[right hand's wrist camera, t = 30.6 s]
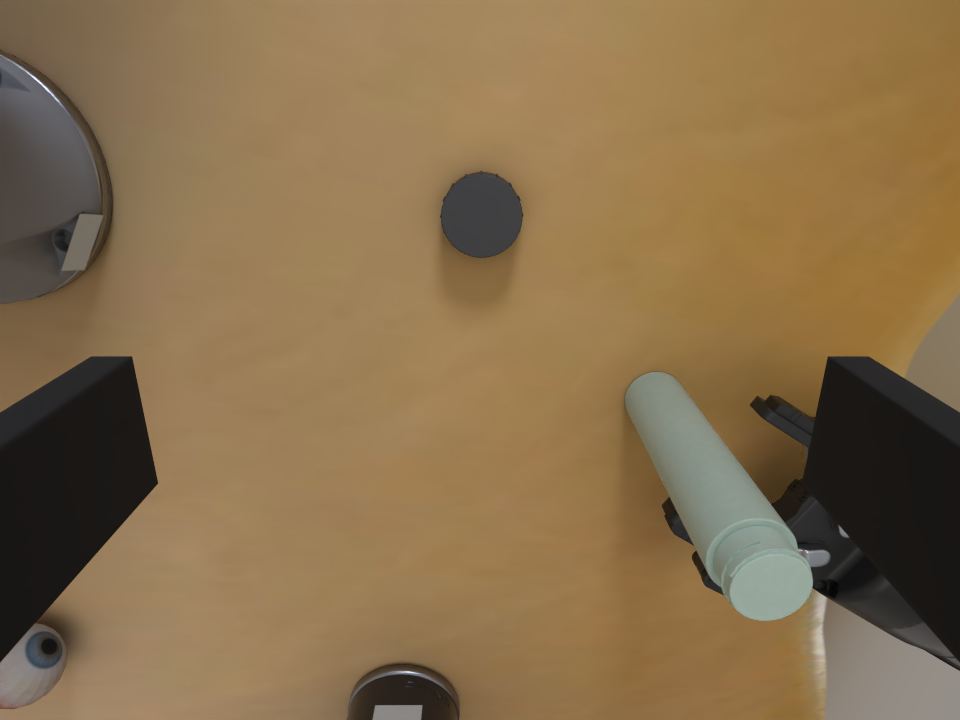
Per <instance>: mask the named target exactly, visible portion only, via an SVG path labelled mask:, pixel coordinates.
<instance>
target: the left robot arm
mask: <svg viewBox="0 0 960 720" xmlns="http://www.w3.org/2000/svg"><path fill="white" fill-rule="evenodd" d="M750 406H751V407H752V408H753V409H754V410H755V411H756V412H757V413H758V414H759V415H760V416H761V417H762V418H763V419H765V420H766V421H767V422H769V423H770V424H772V425H773V426H775V427H777V428H778V429H780V430H781V431H783V432H784V433H786V434H788V435H789V436H791V437H792V438H794V439H795V440H797V441H798V442H800V443H802V445H803V450H804V451H803V452H802V459H803V463H804V468H805V466H806V461H807V456H808V451H809V447H810V442H811V437H812V432H813V427H814V422H815V417H810V416H808V415H806V414H805V413H803V412H802V411H800V410H799V409H797V408H796V407H794V406H793V405H791V404H790V403H788V402H786V401H785V400H783V399H782V398H780V397H779V396H773V395H770V396H769V397H768V398H767V400H766V401H765V400H763V399H762V398H760V397H759V396H757V397H756V398H755V399H754V400H753V401H752V403H751V404H750ZM802 481H803V479H801V480H797V479H795V480H794V481H793V482H792V483H791V484H790V485H789V486H788V487H787V489H786V491H785V493H784V494H783V496H782V498H780V499H779V500H777V501H776V502H774V503H773V504H772V507H773V508H774V509H775V511H776V512H777V513H778V515H779V516H780V517H781V519H782V520H783V521H784V523H785V524H786V525H787V527H788V528H789V529H790V531H791V532H792V533H793V535H794V537H795V539H796V542H797V547H798V553H799V554H801V555H802V556H803V557H804V558H805V559H806V561H807V562H808V564H809V565H810V568H811V572H812V578H813V587H812V588H813V589H815V590H816V591H818V592H819V593H821V594H822V595H824V596H826V597H827V598H829V599H831V600H832V601H834V602H836V603H837V604H839V605H841V606H843V607H844V608H846V609H848V610H849V611H851V612H853V613H854V614H856V615H858V616H860V617H861V618H863V619H865V620H866V621H868V622H870V623H872V624H873V625H875V626H877V627H878V628H880V629H882V630H884V631H885V632H887V633H889V634H890V635H892V636H894V637H896V638H898V639H900V640H901V641H903V642H906V643H908V644H910V645H913V646H916V647H918V648H921V649H923V650H925V651H927V652H928V653H930V654H932V655H933V656H935V657H937V658H939V659H940V660H942V661H944V662H945V663H947V664H949V665H950V666H952V667H954V668H956V669H958V670H959V671H960V662H959V661H958V660H957V659H956V658H955V657H954V656H953V654H952V653H951V652H950V651H949V650H948V649H947V648H946V646H945V645H944V644H943V643H942V642H941V641H940V640H939V639H938V637H937V636H936V635H935V634H934V633H933V632H932V631H931V629H930V628H929V627H928V626H927V625H926V624H925V623H924V621H923V620H922V619H921V618H920V617H919V616H918V615H917V613H916V612H915V611H914V610H913V609H912V608H911V607H910V606H909V604H908V603H907V602H906V601H905V600H904V599H903V598H902V596H901V595H900V594H899V593H898V592H897V591H896V590H895V588H894V587H893V586H892V585H891V584H890V583H889V582H888V581H887V579H886V578H885V577H884V576H883V575H882V574H881V573H880V571H879V570H878V569H877V568H876V567H875V566H874V565H873V563H872V562H871V561H870V560H869V559H868V558H867V557H866V556H865V554H864V553H863V552H862V551H861V550H860V549H859V548H858V546H857V545H856V544H855V543H854V542H853V541H852V540H851V538H850V537H849V536H848V535H847V534H846V533H845V532H844V531H843V529H842V528H841V527H840V526H839V525H838V524H837V523H836V521H835V520H834V519H833V518H832V517H831V516H830V515H829V513H828V512H827V511H826V510H825V509H824V508H823V507H822V506H821V504H820V503H819V502H818V501H817V500H816V499H815V498H814V496H813V495H812V494H811V493H810V492H809V491H808V490H807V488H806V487H805V486H804V485H803V484H802ZM662 507H663V509H664V512H665V518H666V520H667V522H668V525H669V527H670V529H671V530H672V532H673V533H674V534H675V535H676V536H678V537H680V538H682V539H683V540H685V541H687V542H689V543H690V544H692V545H693V543H692V541H691V539H690V537H689V535H688V533H687V531H686V529H685V527H684V525H683V523H682V521H681V519H680V517H679V515H678V513H677V511H676V509H675V507H674V505H673V503H672V501H671V499H670V497H669V498H668V499H667V500H666V501H665V502H664V503H663V505H662ZM692 560H693V562H694V564H695V566H696V567H697V569H698V571H699V573H700V575H701V579H702V581H703V583H704V585H705V586H706V587H708V588H710V589H712V590H714V591H716V592H718V593H720V594H722V595H724V594H723V591H722V588H721V587H720V586H718V585H717V584H716V583H715V582H714V581H713V580H712V579H711V578H710V576H709V574H708V573H707V571H706V569H705V567H704V565H703V563H702V561H701V559H700V557H699V555H698V553H697V551H695V552H694V553H693V555H692ZM459 708H460V705H459V699H458V696H457V694H456V692H455V690H454V688H453V687H452V686H451V684H450V683H449V682H448V681H447V680H446V679H444V678H443V677H442V676H440V675H439V674H437V673H435V672H433V671H431V670H429V669H426V668H423V667H419V666H414V665H391V666H386V667H383V668H380V669H377V670H375V671H373V672H371V673H369V674H367V675H366V676H365V677H363V678H362V679H361V680H360V681H359V682H358V683H357V685H356V686H355V688H354V690H353V692H352V695H351V699H350V703H349V708H348V717H347V720H459Z"/></svg>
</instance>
